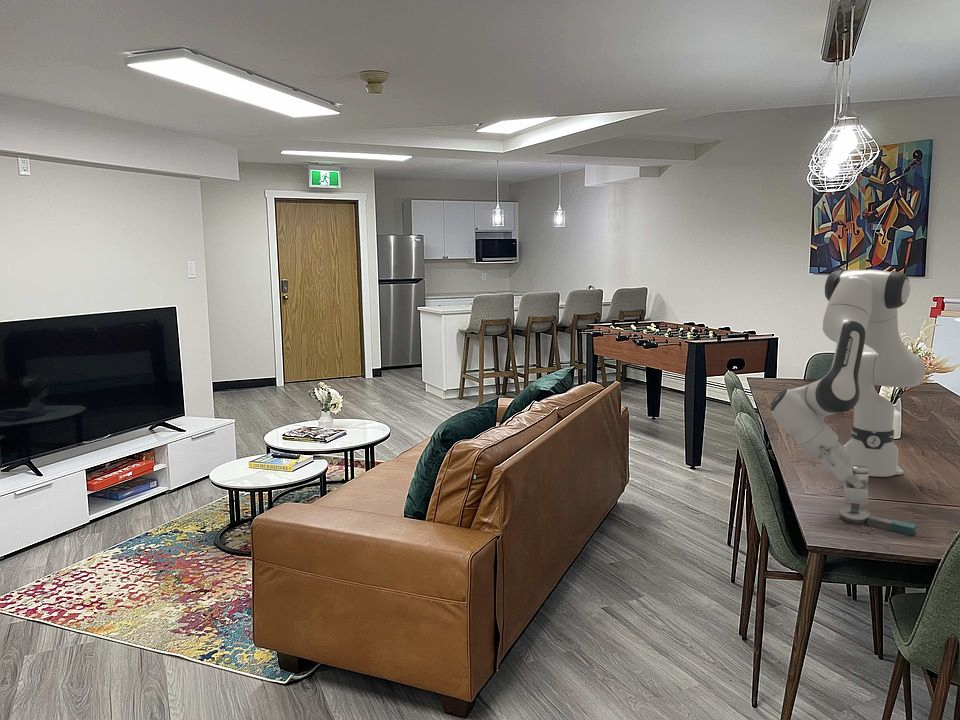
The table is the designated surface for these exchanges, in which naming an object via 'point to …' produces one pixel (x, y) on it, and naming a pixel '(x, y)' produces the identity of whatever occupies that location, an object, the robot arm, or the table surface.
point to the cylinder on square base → (852, 492)
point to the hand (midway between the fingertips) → (859, 482)
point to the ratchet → (874, 520)
